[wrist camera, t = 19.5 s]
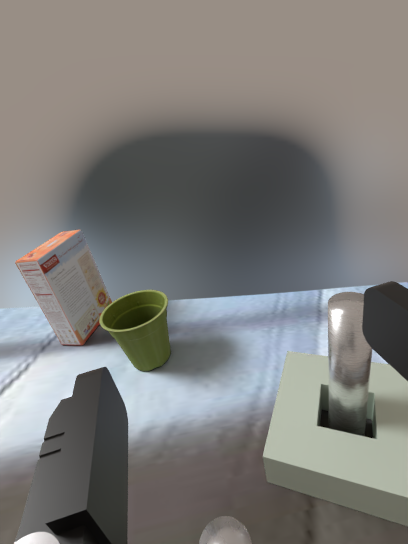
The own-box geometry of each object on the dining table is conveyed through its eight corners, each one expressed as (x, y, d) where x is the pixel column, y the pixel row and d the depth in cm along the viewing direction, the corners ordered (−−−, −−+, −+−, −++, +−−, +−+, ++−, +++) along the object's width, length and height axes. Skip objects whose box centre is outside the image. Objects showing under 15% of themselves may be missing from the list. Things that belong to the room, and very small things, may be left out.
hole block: (439, 536, 28) (448, 509, 26) (267, 481, 35) (262, 456, 33) (412, 395, 41) (417, 368, 38) (289, 375, 48) (287, 351, 45)
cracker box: (94, 307, 78) (60, 230, 68) (115, 307, 76) (83, 228, 66) (59, 346, 66) (12, 260, 56) (82, 347, 64) (38, 258, 54)
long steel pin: (365, 456, 35) (377, 319, 26) (327, 447, 37) (326, 315, 28) (364, 425, 39) (374, 293, 29) (329, 418, 40) (329, 291, 31)
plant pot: (184, 331, 62) (171, 284, 57) (179, 377, 52) (162, 325, 46) (128, 339, 63) (110, 294, 58) (112, 386, 53) (88, 336, 48)
